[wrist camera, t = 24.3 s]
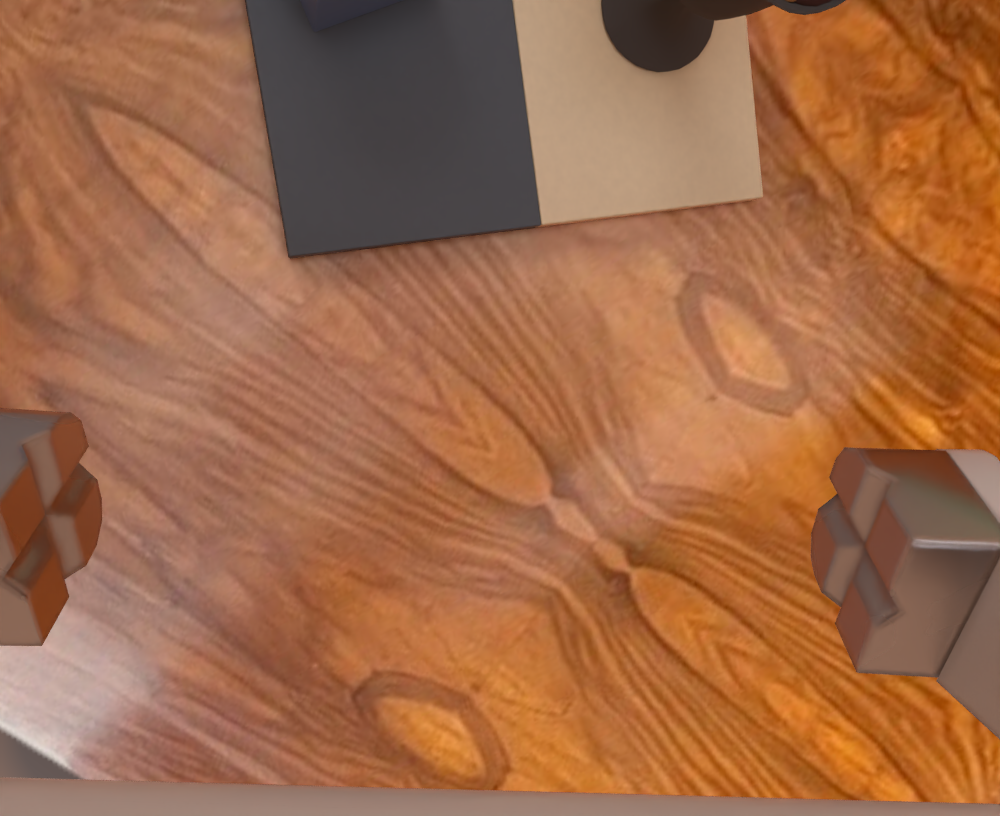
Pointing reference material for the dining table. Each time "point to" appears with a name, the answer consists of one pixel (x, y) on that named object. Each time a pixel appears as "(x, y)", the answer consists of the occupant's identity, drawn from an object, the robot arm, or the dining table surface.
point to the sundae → (681, 26)
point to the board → (490, 121)
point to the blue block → (339, 10)
